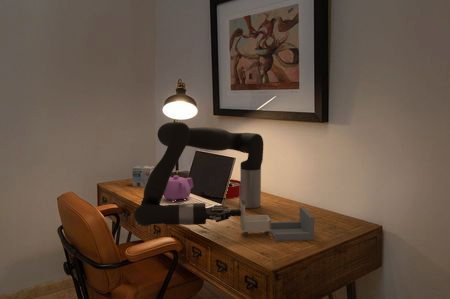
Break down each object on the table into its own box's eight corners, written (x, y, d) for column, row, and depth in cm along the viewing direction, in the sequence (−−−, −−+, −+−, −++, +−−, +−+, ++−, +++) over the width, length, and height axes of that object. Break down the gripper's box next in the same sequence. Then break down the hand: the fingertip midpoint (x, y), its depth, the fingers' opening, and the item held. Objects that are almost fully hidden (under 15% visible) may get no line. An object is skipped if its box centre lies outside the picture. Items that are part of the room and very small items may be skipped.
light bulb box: (132, 186, 221) (131, 167, 220) (137, 184, 228) (136, 165, 226) (150, 187, 219) (150, 168, 218) (155, 184, 226) (154, 165, 225)
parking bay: (268, 228, 152) (268, 207, 150) (303, 227, 153) (303, 206, 152) (275, 240, 138) (275, 218, 137) (313, 239, 139) (314, 217, 138)
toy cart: (239, 229, 147) (240, 196, 146) (267, 228, 148) (267, 195, 146) (242, 236, 140) (242, 201, 139) (270, 235, 141) (271, 200, 140)
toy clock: (195, 182, 204) (223, 177, 218) (195, 194, 205) (223, 187, 219) (221, 189, 190) (250, 183, 203) (221, 201, 191) (250, 194, 204)
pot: (167, 206, 182) (166, 181, 180) (152, 198, 196) (151, 174, 195) (201, 200, 192) (201, 176, 190) (184, 193, 206) (184, 170, 205)
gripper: (192, 209, 134) (243, 207, 136) (192, 198, 148) (238, 197, 149) (192, 230, 135) (243, 228, 137) (192, 218, 149) (238, 217, 150)
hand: (240, 212), depth 143 cm, fingers closed
